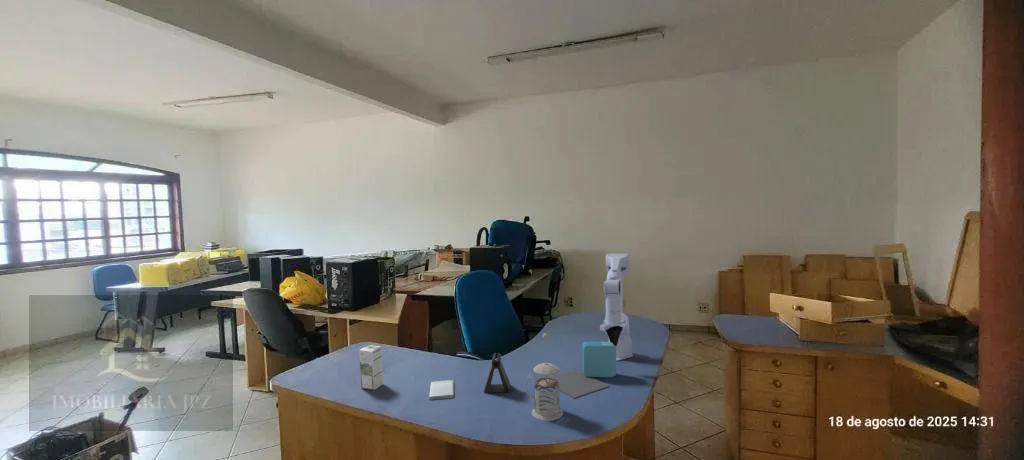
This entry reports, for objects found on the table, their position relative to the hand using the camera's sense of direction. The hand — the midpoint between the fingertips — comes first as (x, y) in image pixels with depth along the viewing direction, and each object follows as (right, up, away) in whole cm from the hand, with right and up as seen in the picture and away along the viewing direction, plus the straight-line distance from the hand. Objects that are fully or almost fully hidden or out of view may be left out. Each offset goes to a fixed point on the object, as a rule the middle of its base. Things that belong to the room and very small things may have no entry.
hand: (613, 345), depth 155 cm
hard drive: (-64, -13, -13) cm, 67 cm away
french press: (-29, -13, -30) cm, 44 cm away
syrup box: (-91, -13, -7) cm, 92 cm away
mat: (-16, -11, -9) cm, 22 cm away
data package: (-7, -10, -4) cm, 13 cm away
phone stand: (-44, -12, -12) cm, 48 cm away
